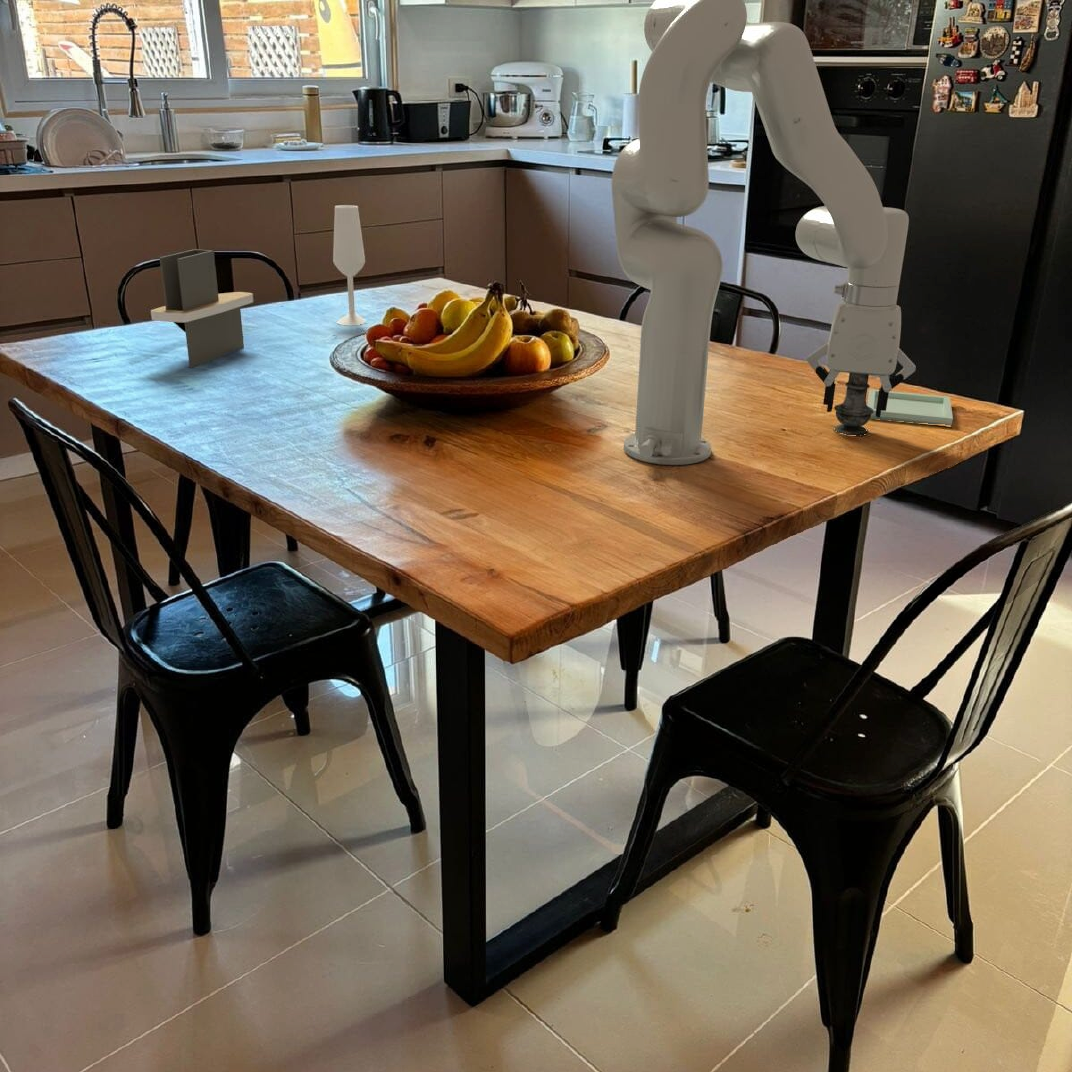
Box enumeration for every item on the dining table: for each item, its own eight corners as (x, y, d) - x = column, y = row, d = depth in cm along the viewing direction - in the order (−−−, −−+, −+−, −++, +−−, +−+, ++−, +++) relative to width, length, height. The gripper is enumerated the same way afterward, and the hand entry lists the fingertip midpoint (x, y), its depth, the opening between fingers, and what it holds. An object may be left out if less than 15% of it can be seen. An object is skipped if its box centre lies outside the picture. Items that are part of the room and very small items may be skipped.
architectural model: (211, 331, 218) (201, 233, 211) (319, 342, 211) (313, 241, 203) (84, 376, 185) (66, 262, 177) (207, 391, 178) (194, 273, 170)
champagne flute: (342, 326, 223) (336, 209, 213) (332, 320, 228) (325, 205, 219) (372, 323, 226) (367, 207, 216) (361, 317, 231) (356, 204, 222)
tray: (951, 427, 166) (952, 418, 165) (865, 418, 169) (867, 409, 169) (948, 405, 177) (949, 396, 176) (868, 397, 181) (869, 389, 180)
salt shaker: (855, 439, 159) (867, 362, 155) (823, 429, 164) (833, 354, 159) (878, 432, 163) (890, 356, 158) (846, 423, 167) (856, 348, 162)
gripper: (808, 295, 154) (794, 413, 161) (933, 304, 149) (912, 425, 156) (812, 286, 160) (798, 400, 168) (932, 295, 156) (912, 411, 163)
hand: (853, 411), depth 162 cm, fingers open, 6 cm apart
